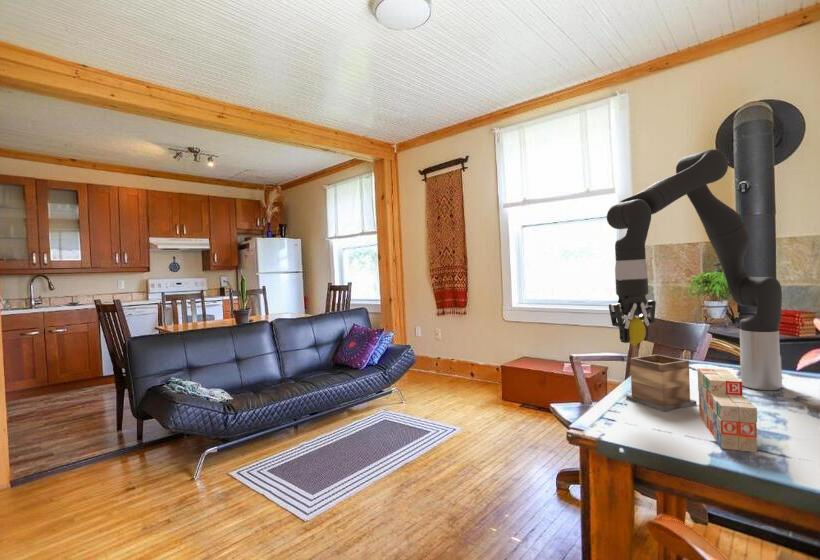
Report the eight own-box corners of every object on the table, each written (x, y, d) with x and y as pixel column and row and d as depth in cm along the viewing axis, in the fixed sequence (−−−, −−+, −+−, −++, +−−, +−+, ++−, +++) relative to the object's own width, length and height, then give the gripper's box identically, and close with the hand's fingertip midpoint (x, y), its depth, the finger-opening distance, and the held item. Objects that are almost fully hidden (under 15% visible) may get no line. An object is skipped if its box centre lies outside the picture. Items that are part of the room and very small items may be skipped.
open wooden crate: (657, 393, 125) (656, 353, 125) (696, 404, 114) (695, 360, 114) (626, 399, 121) (624, 357, 121) (663, 411, 110) (661, 366, 110)
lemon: (649, 347, 107) (648, 316, 107) (626, 348, 108) (624, 317, 108) (642, 343, 113) (640, 314, 113) (620, 344, 114) (618, 315, 114)
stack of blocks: (758, 453, 85) (756, 393, 84) (720, 449, 87) (719, 390, 87) (728, 417, 104) (727, 368, 104) (698, 415, 107) (697, 367, 106)
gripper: (640, 275, 116) (642, 336, 116) (598, 279, 111) (601, 342, 112) (664, 275, 109) (667, 340, 109) (621, 279, 104) (624, 346, 105)
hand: (634, 340), depth 111 cm, fingers closed on lemon, 5 cm apart
